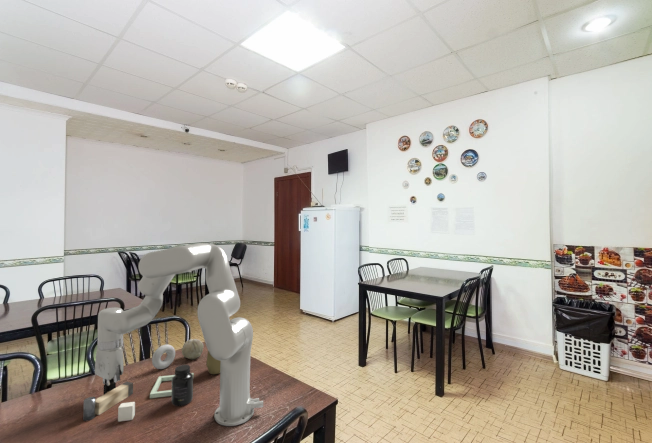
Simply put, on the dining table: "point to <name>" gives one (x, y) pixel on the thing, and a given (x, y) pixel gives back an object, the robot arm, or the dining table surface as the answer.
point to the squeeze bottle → (213, 364)
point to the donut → (159, 352)
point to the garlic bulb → (192, 349)
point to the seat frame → (161, 378)
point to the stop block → (126, 411)
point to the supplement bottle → (182, 386)
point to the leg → (113, 397)
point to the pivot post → (89, 409)
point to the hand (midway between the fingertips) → (109, 394)
